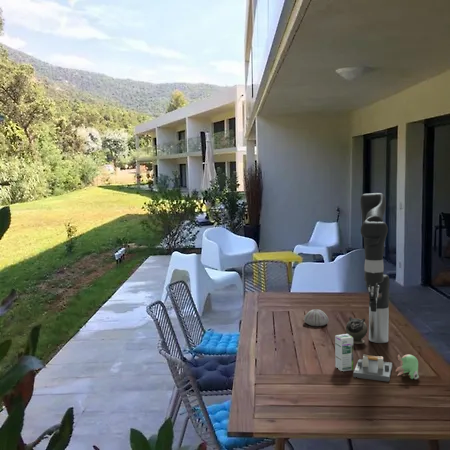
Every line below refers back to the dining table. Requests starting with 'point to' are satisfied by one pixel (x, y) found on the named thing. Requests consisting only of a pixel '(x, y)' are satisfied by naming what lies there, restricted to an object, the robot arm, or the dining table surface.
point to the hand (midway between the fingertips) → (373, 311)
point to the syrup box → (344, 352)
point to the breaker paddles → (380, 359)
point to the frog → (408, 366)
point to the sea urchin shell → (316, 318)
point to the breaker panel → (373, 370)
